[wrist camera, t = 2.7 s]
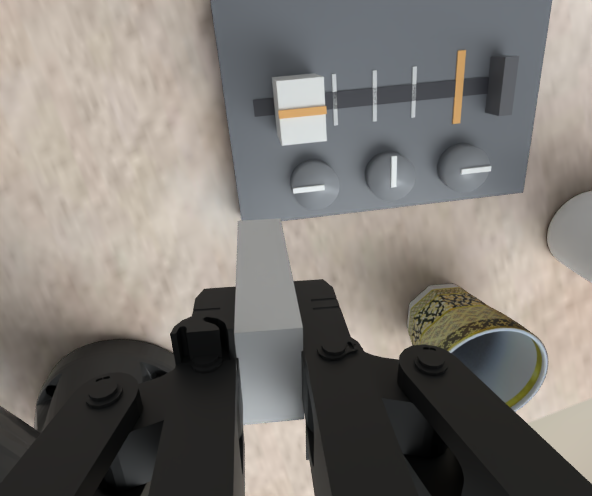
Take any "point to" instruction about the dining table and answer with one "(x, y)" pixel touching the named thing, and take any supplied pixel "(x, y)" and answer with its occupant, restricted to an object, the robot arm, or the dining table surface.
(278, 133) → the fader cap
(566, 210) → the milk bottle
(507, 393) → the ceramic cup
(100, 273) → the dining table surface
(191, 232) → the dining table surface
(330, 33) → the console
